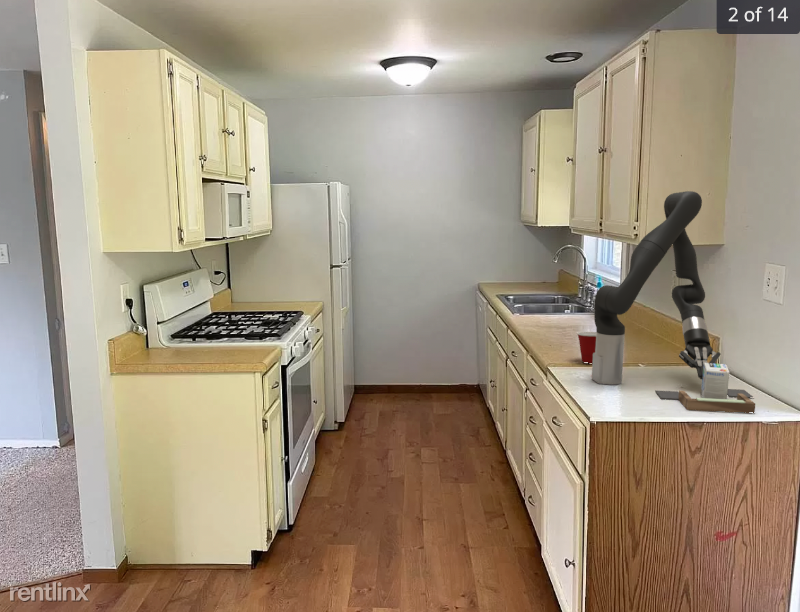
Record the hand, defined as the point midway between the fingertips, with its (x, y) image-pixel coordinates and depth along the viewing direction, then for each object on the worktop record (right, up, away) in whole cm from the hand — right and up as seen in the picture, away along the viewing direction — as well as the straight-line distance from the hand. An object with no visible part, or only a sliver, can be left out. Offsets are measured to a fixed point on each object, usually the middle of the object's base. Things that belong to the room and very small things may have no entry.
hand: (703, 378), depth 198 cm
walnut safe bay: (-2, -7, -11) cm, 14 cm away
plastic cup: (-24, +1, +41) cm, 48 cm away
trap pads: (0, -5, 0) cm, 5 cm away
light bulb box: (0, -6, -5) cm, 8 cm away
